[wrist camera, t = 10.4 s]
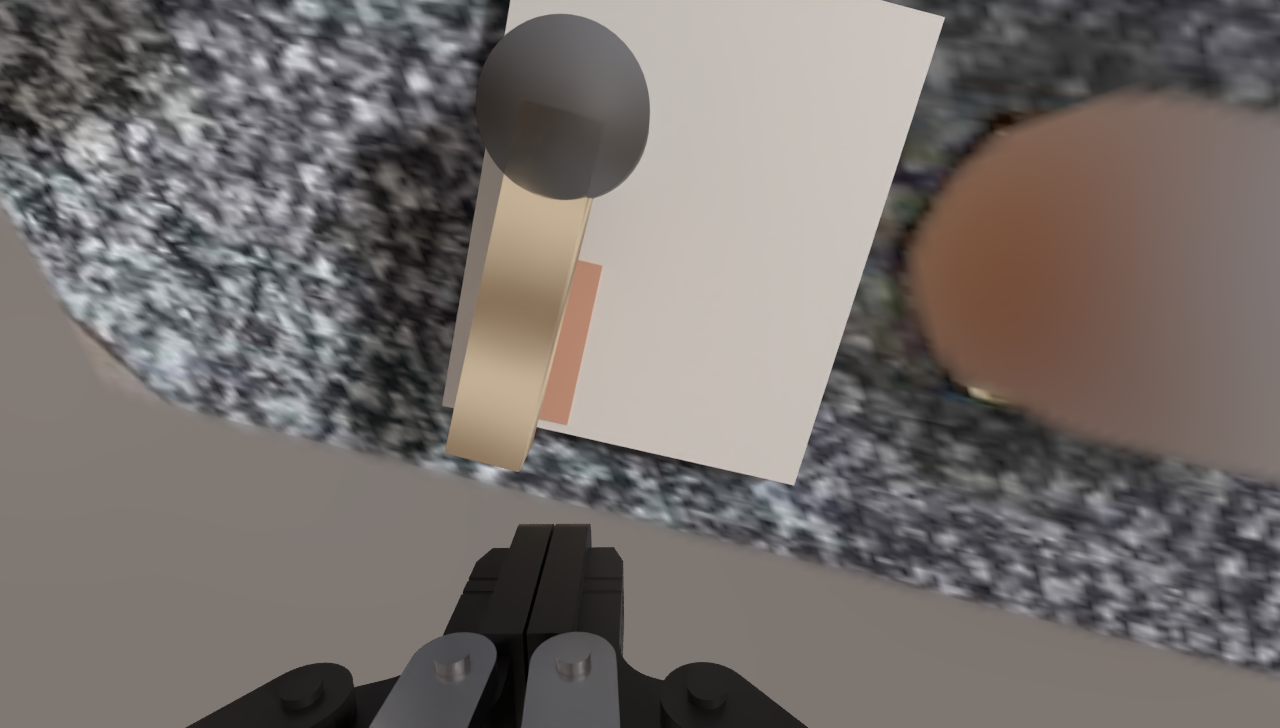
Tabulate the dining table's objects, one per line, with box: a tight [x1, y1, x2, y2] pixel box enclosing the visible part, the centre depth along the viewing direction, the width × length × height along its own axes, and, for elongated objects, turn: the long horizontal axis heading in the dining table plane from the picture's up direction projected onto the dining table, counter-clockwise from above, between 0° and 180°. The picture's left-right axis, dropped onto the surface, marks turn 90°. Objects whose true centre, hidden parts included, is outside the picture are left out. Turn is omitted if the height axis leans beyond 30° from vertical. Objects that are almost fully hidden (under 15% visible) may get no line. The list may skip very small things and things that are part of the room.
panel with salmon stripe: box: [442, 0, 945, 485], centre depth 28 cm, size 18×22×4 cm
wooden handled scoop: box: [445, 14, 650, 472], centre depth 24 cm, size 16×6×3 cm, turn 165°
